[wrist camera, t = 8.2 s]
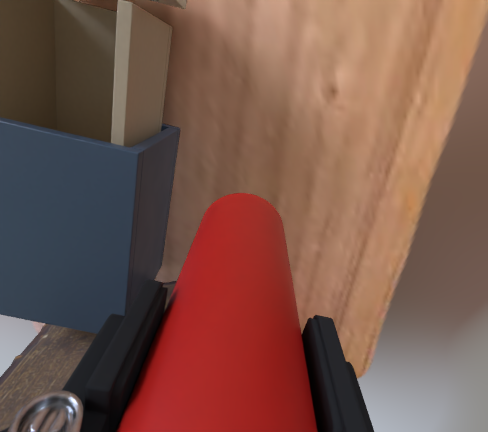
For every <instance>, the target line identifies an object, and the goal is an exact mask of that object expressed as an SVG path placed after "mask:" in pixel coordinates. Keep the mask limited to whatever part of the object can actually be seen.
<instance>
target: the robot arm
mask: <svg viewBox="0 0 488 432" xmlns="http://www.w3.org/2000/svg"><path fill="white" fill-rule="evenodd" d="M167 291H168V288H166V287H163V282H159V281H154V280H149V279H146V280H145V282H144V284H143V285H142V287H141V289H140V291H139V293H138V294H137V296H136V298H135V300H134V301H133V303H132V305H131V307H130V308H129V310H128V312H127V314H126V315H125V316H123V315H118V314H113V313H112V314H111V315H110V316H109V317H108V318H107V320H106V321H105V323H104V324H103V326H102V327H101V329H100V331H99V332H98V334H97V335H96V337H95V339H94V340H93V342H92V343H91V345H90V346H89V348H88V350H87V351H86V353H85V354H84V356H83V357H82V359H81V361H80V362H79V364H78V365H77V367H76V368H75V370H74V372H73V373H72V375H71V376H70V378H69V379H68V381H67V383H66V384H65V386H64V387H63V389H62V390H56V391H50V392H46V393H44V394H41V395H39V396H36V397H35V398H33V399H32V400H30V401H29V402H27V403H26V404H25V405H24V406H23V407H22V408H21V409H20V410H19V411H18V412H17V414H16V415H15V417H14V419H13V420H12V422H11V424H10V427H8V428H6V429H4V430H2V431H0V432H116V430H117V428H118V425H119V423H120V420H121V418H122V415H123V413H124V410H125V408H126V405H127V403H128V400H129V398H130V396H131V393H132V391H133V388H134V386H135V383H136V381H137V378H138V376H139V373H140V371H141V369H142V366H143V364H144V361H145V359H146V356H147V354H148V351H149V349H150V346H151V344H152V341H153V339H154V337H155V334H156V332H157V329H158V327H159V324H160V322H161V319H162V317H163V314H164V311H165V304H166V298H167ZM302 341H303V347H304V353H305V359H306V365H307V371H308V377H309V383H310V389H311V395H312V401H313V407H314V413H315V419H316V425H317V431H318V432H374V430H373V426H372V423H371V420H370V418H369V414H368V411H367V409H366V405H365V402H364V399H363V396H362V393H361V390H360V387H359V384H358V381H357V378H356V374H355V371H354V369H353V366H352V365H351V363H350V362H346V361H345V357H344V354H343V351H342V348H341V344H340V341H339V338H338V335H337V331H336V328H335V325H334V322H333V319H332V318H328V317H323V316H319V315H315V316H314V318H313V319H312V318H309V319H308V321H307V323H306V326H305V328H304V331H303V333H302Z"/></svg>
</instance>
